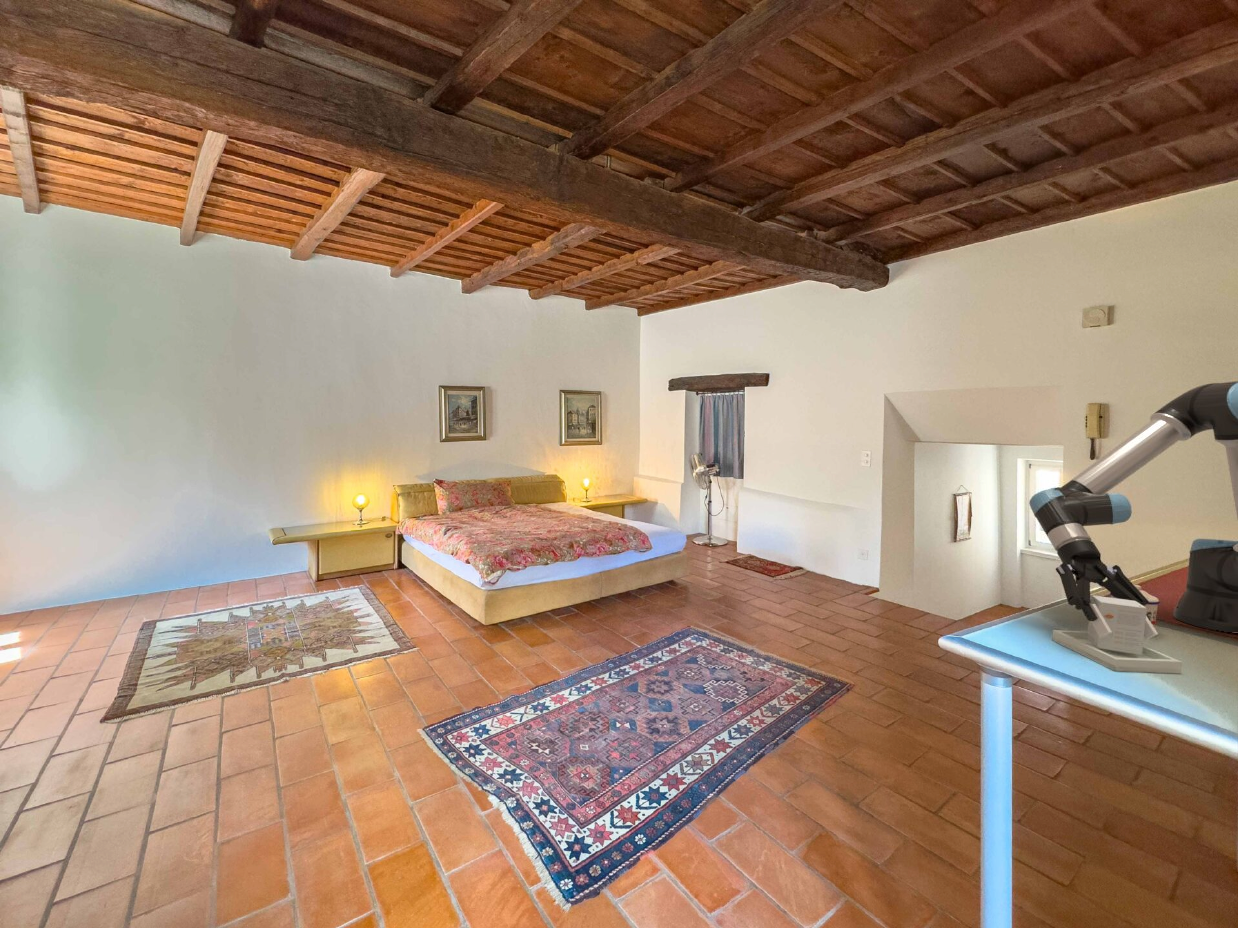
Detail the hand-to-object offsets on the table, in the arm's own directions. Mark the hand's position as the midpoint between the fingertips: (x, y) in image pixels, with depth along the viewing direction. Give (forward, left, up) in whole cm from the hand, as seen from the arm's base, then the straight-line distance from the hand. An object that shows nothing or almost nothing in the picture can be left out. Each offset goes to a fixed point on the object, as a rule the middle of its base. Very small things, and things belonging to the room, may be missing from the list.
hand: (1128, 635), depth 117 cm
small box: (0, -3, -4) cm, 5 cm away
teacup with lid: (-22, -21, -6) cm, 31 cm away
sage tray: (0, -3, -6) cm, 7 cm away
